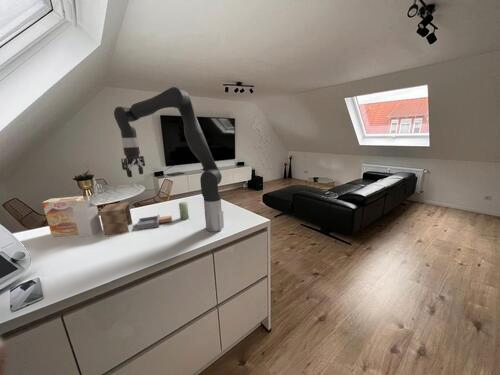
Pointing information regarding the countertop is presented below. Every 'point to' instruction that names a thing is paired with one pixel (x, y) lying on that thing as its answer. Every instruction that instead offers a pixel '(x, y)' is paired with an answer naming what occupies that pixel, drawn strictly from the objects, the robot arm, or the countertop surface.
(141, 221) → the tray
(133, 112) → the robot arm
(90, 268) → the countertop surface
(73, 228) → the coffeecake box
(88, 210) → the milk carton
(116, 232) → the cabinet
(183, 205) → the jar
